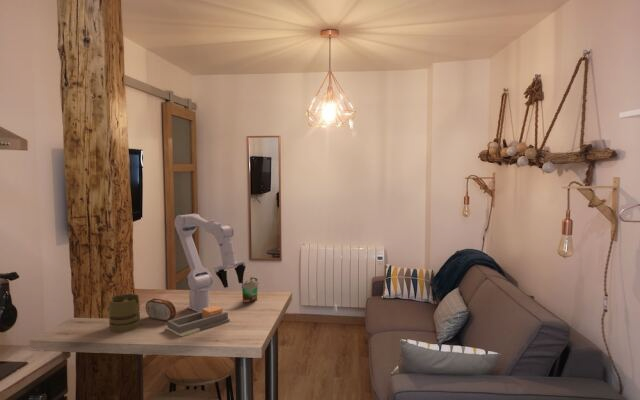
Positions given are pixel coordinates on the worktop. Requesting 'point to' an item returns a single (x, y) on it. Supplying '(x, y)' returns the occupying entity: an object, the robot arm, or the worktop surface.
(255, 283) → the food container
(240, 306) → the worktop surface
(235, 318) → the worktop surface
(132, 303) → the piston
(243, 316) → the worktop surface
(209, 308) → the block
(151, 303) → the tin
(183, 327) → the chute
